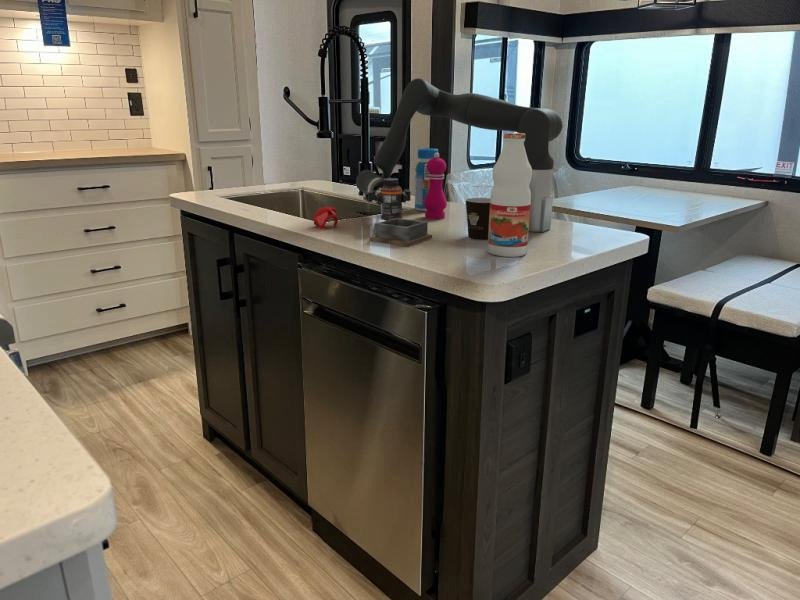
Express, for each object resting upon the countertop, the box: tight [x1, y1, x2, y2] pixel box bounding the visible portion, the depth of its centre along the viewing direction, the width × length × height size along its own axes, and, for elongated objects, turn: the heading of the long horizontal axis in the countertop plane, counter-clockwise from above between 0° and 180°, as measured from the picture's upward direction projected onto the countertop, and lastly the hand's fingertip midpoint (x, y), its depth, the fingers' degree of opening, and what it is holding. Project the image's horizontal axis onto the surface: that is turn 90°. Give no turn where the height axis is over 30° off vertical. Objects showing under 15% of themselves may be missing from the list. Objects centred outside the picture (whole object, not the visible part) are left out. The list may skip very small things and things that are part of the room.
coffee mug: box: [465, 197, 491, 241], centre depth 163 cm, size 12×9×10 cm
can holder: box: [369, 218, 433, 248], centre depth 161 cm, size 12×12×4 cm
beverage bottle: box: [414, 147, 439, 212], centre depth 205 cm, size 8×8×20 cm
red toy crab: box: [313, 206, 339, 229], centre depth 177 cm, size 8×6×6 cm
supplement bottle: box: [380, 177, 403, 221], centre depth 172 cm, size 6×6×11 cm
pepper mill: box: [424, 152, 448, 220], centre depth 191 cm, size 7×7×20 cm
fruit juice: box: [487, 132, 532, 258], centre depth 144 cm, size 9×9×28 cm
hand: (393, 199), depth 170 cm, fingers closed on supplement bottle, 6 cm apart
